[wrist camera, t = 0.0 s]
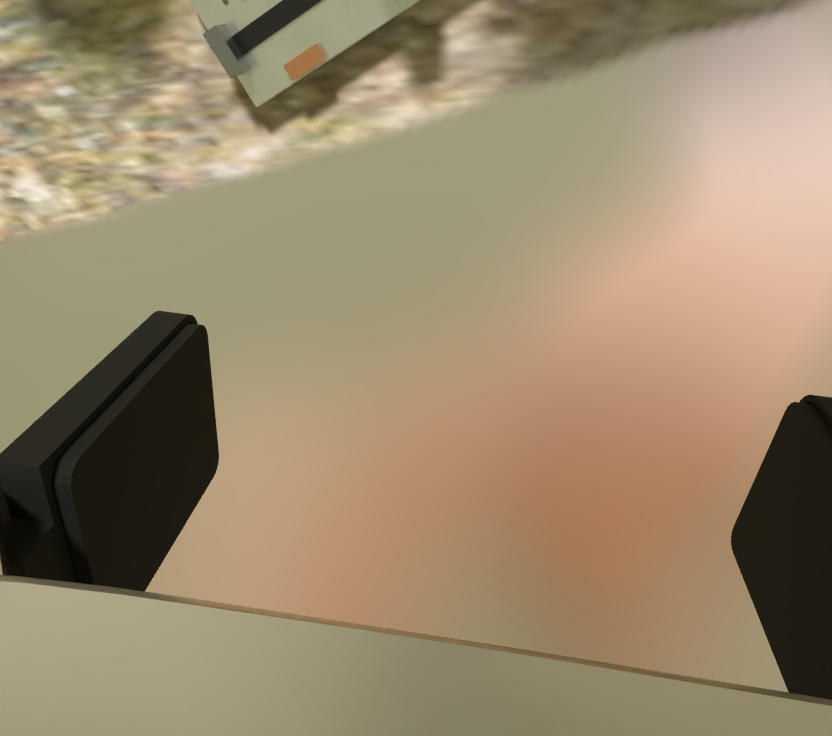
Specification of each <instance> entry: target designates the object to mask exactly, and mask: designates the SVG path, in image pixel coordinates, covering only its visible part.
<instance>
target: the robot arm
mask: <svg viewBox="0 0 832 736" xmlns="http://www.w3.org/2000/svg"><path fill="white" fill-rule="evenodd" d="M218 459H219V452H218V440H217V431H216V419H215V409H214V398H213V388H212V377H211V366H210V355H209V345H208V335H207V330H206V328H205V327H204V326H203V325H198V324H197V321H196V319H195V317H194V316H193V315H187V314H179V313H171V312H164V311H156V312H155V313H153V314H152V315H151V316H150V317H149V318H148V319H147V320H146V321H144V322H143V323H142V324H141V325H140V326H139V327H138V328H137V329H136V330H135V331H134V332H132V333H131V334H130V335H129V336H128V337H127V338H126V339H125V340H124V341H123V342H122V343H120V344H119V345H118V346H117V347H116V348H115V349H114V350H113V351H112V352H111V353H109V354H108V355H107V356H106V357H105V358H104V359H103V360H102V361H101V362H100V363H99V364H98V365H96V366H95V367H94V368H93V369H92V370H91V371H90V372H89V373H88V374H87V375H86V376H84V377H83V378H82V379H81V380H80V381H79V382H78V383H77V384H76V385H75V386H74V387H73V388H71V389H70V390H69V391H68V392H67V393H66V394H65V395H64V396H63V397H62V398H60V399H59V400H58V401H57V402H56V403H55V404H54V405H53V406H52V407H51V408H50V409H49V410H47V411H46V412H45V413H44V414H43V415H42V416H41V417H40V418H39V419H38V420H36V421H35V422H34V423H33V424H32V425H31V426H30V427H29V428H28V429H27V430H26V431H25V432H23V433H22V434H21V435H20V436H19V437H18V438H17V439H16V440H15V441H14V442H13V443H11V444H10V445H9V446H8V447H7V448H6V449H5V450H4V451H3V452H2V453H0V736H832V398H830V397H822V396H814V395H807V396H805V397H804V398H803V399H802V400H800V402H799V403H797V402H794V403H791V404H790V405H789V406H788V407H787V409H786V411H785V413H784V415H783V417H782V420H781V422H780V424H779V426H778V429H777V431H776V433H775V436H774V438H773V440H772V442H771V444H770V447H769V449H768V451H767V453H766V456H765V458H764V460H763V462H762V464H761V467H760V469H759V471H758V473H757V476H756V478H755V480H754V482H753V485H752V487H751V489H750V491H749V494H748V496H747V499H746V500H745V503H744V505H743V507H742V509H741V512H740V514H739V516H738V518H737V521H736V523H735V525H734V528H733V531H732V536H731V545H732V550H733V553H734V555H735V558H736V561H737V563H738V566H739V569H740V571H741V574H742V576H743V579H744V581H745V584H746V586H747V589H748V591H749V594H750V596H751V599H752V601H753V604H754V606H755V609H756V611H757V614H758V616H759V619H760V621H761V624H762V626H763V629H764V631H765V634H766V636H767V639H768V641H769V644H770V646H771V649H772V652H773V654H774V657H775V659H776V662H777V664H778V666H779V669H780V672H781V674H782V677H783V679H784V682H785V684H786V687H787V689H788V692H789V693H788V692H782V691H776V690H769V689H763V688H757V687H751V686H745V685H739V684H732V683H726V682H720V681H714V680H708V679H702V678H695V677H690V676H683V675H678V674H671V673H665V672H659V671H653V670H647V669H641V668H635V667H629V666H622V665H615V664H610V663H604V662H597V661H591V660H585V659H579V658H572V657H566V656H560V655H554V654H547V653H541V652H534V651H528V650H522V649H516V648H510V647H503V646H497V645H491V644H484V643H478V642H471V641H465V640H458V639H452V638H446V637H440V636H433V635H427V634H420V633H413V632H408V631H401V630H395V629H389V628H382V627H375V626H369V625H362V624H356V623H350V622H343V621H336V620H330V619H323V618H316V617H310V616H303V615H297V614H290V613H283V612H277V611H270V610H264V609H257V608H251V607H244V606H238V605H230V604H224V603H218V602H211V601H205V600H198V599H192V598H185V597H178V596H170V595H163V594H157V593H150V592H145V590H146V588H147V586H148V585H149V583H150V581H151V580H152V578H153V577H154V574H155V573H156V572H157V570H158V568H159V567H160V565H161V563H162V562H163V560H164V558H165V557H166V555H167V553H168V552H169V550H170V548H171V547H172V545H173V543H174V542H175V540H176V538H177V537H178V535H179V534H180V532H181V530H182V529H183V527H184V525H185V524H186V522H187V520H188V519H189V517H190V515H191V513H192V512H193V510H194V508H195V507H196V505H197V503H198V502H199V500H200V499H201V497H202V495H203V494H204V492H205V490H206V489H207V487H208V485H209V484H210V482H211V480H212V479H213V477H214V475H215V473H216V470H217V466H218Z"/></svg>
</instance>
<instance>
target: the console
mask: <svg viewBox="0 0 832 736" xmlns="http://www.w3.org/2000/svg"><path fill="white" fill-rule="evenodd" d="M189 1H190V3H191V4H192V6H193V8H194V9H195V11H196V12H197V14H198V16H199V17H200V19H201V20H202V22H203V23H204V25H205V27H206V28H207V30H208V31H207V32H205V33H204V34H203V36H204V37H205V39H206V40H207V42H208V44H209V45H210V47H211V48H212V50H213V52H214V53H215V55H216V56H217V58H218V59H219V61H220V63H221V64H222V66H223V67H224V69H225V70H226V72H227V74H228V75H229V77H230V78H233V77H236V76H237V78H238V79H239V81H240V82H241V84H242V85H243V87H244V89H245V90H246V92H247V93H248V95H249V97H250V98H251V100H252V101H253V103H254V105H255V106H256V107H258V106H260V105H263V104H265V103H267V102H268V101H270V100H271V99H273V98H274V97H276V96H277V95H279V94H280V93H282V92H283V91H285V90H286V89H288V88H289V87H291V86H292V85H294V84H295V83H297V82H298V81H300V80H302V79H303V78H305V77H306V76H308V75H309V74H311V73H312V72H314V71H315V70H317V69H318V68H320V67H321V66H323V65H324V64H326V63H327V62H329V61H330V60H332V59H333V58H335V57H337V56H338V55H340V54H341V53H343V52H344V51H346V50H347V49H349V48H350V47H352V46H353V45H355V44H356V43H358V42H359V41H361V40H362V39H364V38H365V37H367V36H368V35H370V34H371V33H373V32H375V31H376V30H378V29H379V28H381V27H382V26H384V25H385V24H387V23H388V22H390V21H391V20H393V19H394V18H396V17H397V16H399V15H400V14H402V13H403V12H405V11H406V10H408V9H409V8H411V7H413V6H414V5H416V4H417V3H419V2H420V1H422V0H189Z"/></svg>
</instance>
